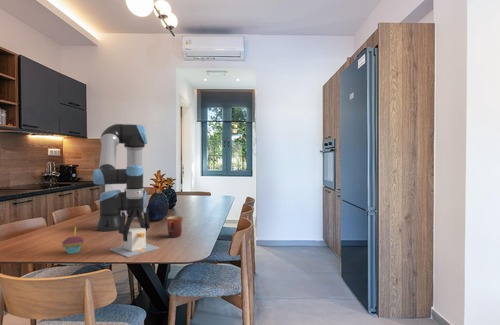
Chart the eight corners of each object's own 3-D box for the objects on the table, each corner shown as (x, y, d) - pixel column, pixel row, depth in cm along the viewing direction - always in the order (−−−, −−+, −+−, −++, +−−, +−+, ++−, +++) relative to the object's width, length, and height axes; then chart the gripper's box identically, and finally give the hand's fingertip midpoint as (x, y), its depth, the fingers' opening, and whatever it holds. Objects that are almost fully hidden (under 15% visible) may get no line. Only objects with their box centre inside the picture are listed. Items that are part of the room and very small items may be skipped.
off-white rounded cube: (124, 248, 134) (124, 229, 134) (137, 244, 140) (137, 226, 140) (135, 252, 128) (135, 233, 128) (149, 249, 133) (149, 230, 133)
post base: (110, 250, 134) (110, 237, 134) (141, 242, 146) (141, 230, 146) (127, 257, 124) (127, 243, 124) (159, 248, 136) (159, 236, 136)
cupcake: (68, 249, 135) (68, 224, 134) (87, 249, 135) (87, 224, 135) (58, 255, 126) (58, 228, 126) (78, 255, 127) (78, 228, 127)
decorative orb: (152, 216, 187) (163, 196, 195) (137, 213, 195) (148, 195, 203) (165, 225, 197) (175, 206, 205) (150, 223, 205) (160, 205, 212)
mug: (171, 233, 164) (171, 215, 164) (185, 234, 162) (185, 216, 162) (160, 239, 152) (160, 220, 152) (175, 240, 150) (175, 220, 150)
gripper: (117, 200, 125) (118, 252, 125) (157, 196, 140) (157, 242, 140) (109, 199, 129) (110, 249, 130) (149, 195, 145) (149, 239, 145)
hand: (134, 245), depth 135 cm, fingers closed on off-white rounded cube, 7 cm apart
